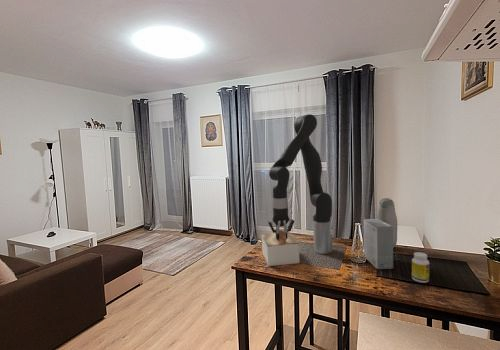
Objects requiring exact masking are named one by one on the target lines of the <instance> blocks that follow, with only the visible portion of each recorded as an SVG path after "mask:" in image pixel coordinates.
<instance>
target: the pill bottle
mask: <svg viewBox="0 0 500 350" xmlns="http://www.w3.org/2000/svg"><path fill="white" fill-rule="evenodd" d="M411 279H412V280H413V281H415V282H418V283H423V284H425V283H429V281H430V261H429V260H428V254H427V253H424V252H419V251H418V252H417V251H416V252H414V253H413V258H412V259H411Z"/></svg>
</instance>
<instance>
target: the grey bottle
mask: <svg viewBox="0 0 500 350" xmlns="http://www.w3.org/2000/svg"><path fill="white" fill-rule="evenodd" d="M395 209H396V208H395V202H394V200H392V199H391V198H389V197H388V198H386V197H385V198H382V199H381V200H379V202H378V210H377V215H376V219H379V220H381V221H383V222H385V223H387V224H389V225H391V226H393V249H395V247H396V245H397V242H398V217H397V214H396V210H395Z"/></svg>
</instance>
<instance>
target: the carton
mask: <svg viewBox="0 0 500 350" xmlns="http://www.w3.org/2000/svg"><path fill="white" fill-rule="evenodd" d="M261 251H262V254H263V258H264V260H265V262H266V263H267V266H268V267H272V266H282V265H283V266H284V265H293V264H300V245H299V244H289V245H279V246H268V247H267V245H266V243H265V241H264V239H263V237H262V236H261Z"/></svg>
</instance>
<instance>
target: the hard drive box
mask: <svg viewBox="0 0 500 350" xmlns="http://www.w3.org/2000/svg"><path fill="white" fill-rule="evenodd" d="M364 254H365V257H366V258H365V257H364V258H365V259H366V260H367V261H368V262H369V263H370V264H372V266H373V267H374V268H375V269H376V270H392V269H394V248H393V226H391V225H389V224H387V223H385V222H383V221H381V220H379V219H377V218H364V219H363V255H364Z"/></svg>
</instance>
